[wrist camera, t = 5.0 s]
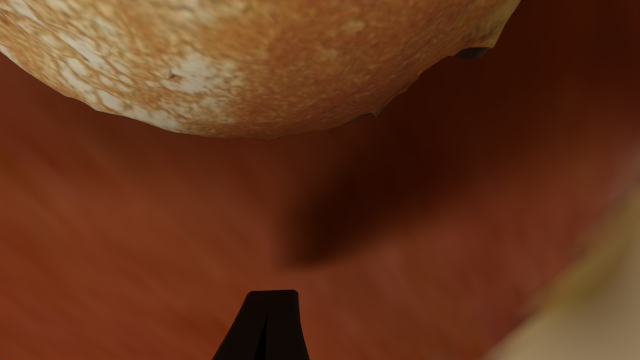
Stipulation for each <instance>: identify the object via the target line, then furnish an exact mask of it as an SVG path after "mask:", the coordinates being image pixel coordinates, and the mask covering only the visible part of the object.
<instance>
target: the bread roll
mask: <svg viewBox="0 0 640 360" xmlns="http://www.w3.org/2000/svg"><path fill="white" fill-rule="evenodd" d="M520 1H521V0H0V51H1V52H2V53H3V54H4V55H6V56H7V57H8V58H10V59H11V60H12V61H13V62H15V63H16V64H17V65H19V66H20V67H21V68H22V69H24V70H25V71H27V72H28V73H30V74H31V75H33V76H34V77H36V78H37V79H39V80H40V81H42V82H43V83H45V84H46V85H48V86H50V87H51V88H53V89H55V90H56V91H58V92H59V93H61V94H63V95H64V96H67V97H72V98H76V99H78V100H80V101H82V102H85V103H86V104H88V105H89V106H91V107H92V108H94V109H95V110H97V111H102V112H106V113H111V114H115V115H121V116H126V117H129V118H133V119H136V120H139V121H142V122H145V123H148V124H151V125H154V126H157V127H159V128H162V129H165V130H168V131H171V132H178V133H184V134H193V135H200V136H203V137H208V138H215V139H222V140H233V139H242V138H249V139H256V140H264V141H267V140H270V139H274V138H278V137H282V136H287V135H293V134H300V133H306V132H313V131H320V130H326V129H332V128H335V127H338V126H340V125H343V124H346V123H349V122H352V121H355V120H356V119H357V118H358V117H359V116H365V115H368V114H370V113H371V114H372V115H373V116H374V117H375V118H377V116H378V115H379V113H380V112H381V111H382V110H383V109H384V108H385V107H386V106H387V105H388V104H389V103H390V101H391V100H392V99H393V98H394V97H395V96H397V95H399V94H401V93H404V92H406V91H407V88H408V87H409V86H410V85H411V84H412V83H413V82H415V81H416V80H417V79H418V78H419V76H420V74H421V73H422V72H423V71H425V70H426V69H428V68H429V67H431V66H432V65H434V64H435V63H436V62H438V61H439V60H441V59H443V58H445V57H446V56H454V55H455V56H459V57H462V58H465V59H478V58H481V57H482V56H483V55H484V54H485V53H486V52H487V51H488V50H490V49H492V48H493V47H494V46H495V44H496V42H497V40H498V38H499V36H500V34H501V32H502V30H503V28H504V26H505V24H506V22H507V21H508V19H509V18H510V16H511V15H512V13H513V12H514V10H515V9H516V7H517V6H518V4H519V3H520Z"/></svg>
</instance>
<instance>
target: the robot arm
mask: <svg viewBox="0 0 640 360" xmlns="http://www.w3.org/2000/svg"><path fill="white" fill-rule="evenodd" d="M212 360H310V359H309V356H308V352H307V348H306V345H305V341H304V337H303V333H302V328H301V323H300V312H299V298H298V292H296V291H295V290H271V291H250V292H249V293H248V294H247V296H246V298H245V300H244V303H243V305H242V307H241V309H240V311H239V313H238V315H237V317H236V319H235V321H234V322H233V324H232V326H231V328H230V330H229V332H228V333H227V335H226V337H225V339H224V340H223V342H222V344H221V345H220V347H219V349H218V350H217V352H216V354H215V355H214V357H213V359H212Z"/></svg>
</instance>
